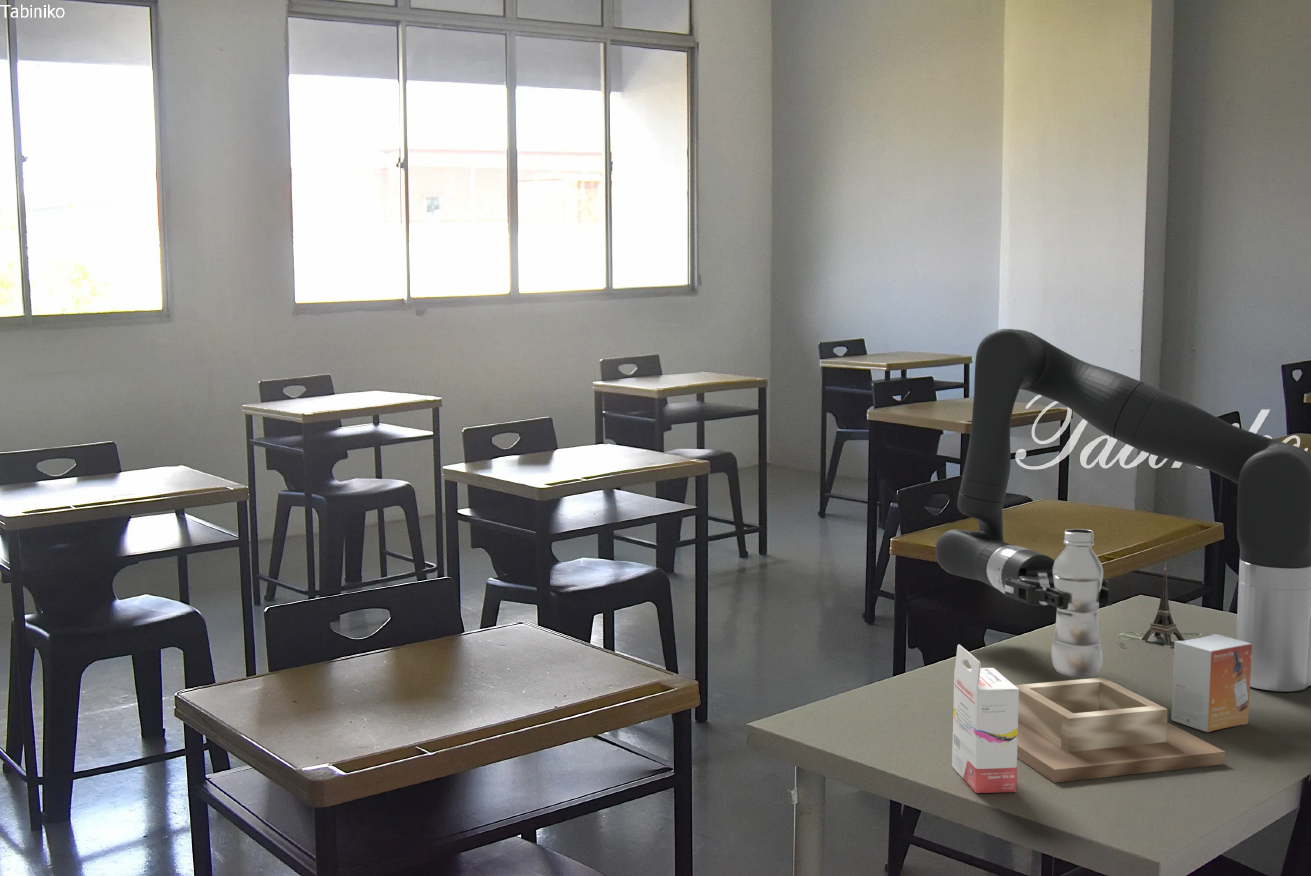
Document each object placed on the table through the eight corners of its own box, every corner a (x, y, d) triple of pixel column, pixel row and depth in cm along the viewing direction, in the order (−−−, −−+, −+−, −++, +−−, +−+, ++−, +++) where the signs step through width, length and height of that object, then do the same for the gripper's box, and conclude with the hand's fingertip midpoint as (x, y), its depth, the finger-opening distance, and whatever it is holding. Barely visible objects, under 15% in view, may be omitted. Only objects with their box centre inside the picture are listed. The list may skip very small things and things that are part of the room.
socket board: (1112, 705, 167) (1113, 664, 166) (1224, 764, 145) (1226, 717, 145) (961, 719, 161) (961, 677, 161) (1054, 782, 140) (1055, 734, 140)
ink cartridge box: (1019, 793, 137) (1022, 662, 136) (975, 794, 137) (977, 663, 135) (992, 764, 146) (994, 640, 144) (950, 766, 146) (952, 642, 144)
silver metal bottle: (1105, 683, 168) (1109, 536, 166) (1052, 681, 169) (1055, 535, 167) (1098, 669, 174) (1102, 527, 172) (1047, 667, 175) (1050, 526, 173)
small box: (1206, 734, 156) (1210, 651, 154) (1169, 720, 160) (1172, 640, 159) (1250, 723, 159) (1253, 642, 158) (1212, 711, 164) (1215, 632, 163)
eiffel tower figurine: (1201, 636, 202) (1205, 554, 201) (1223, 654, 192) (1227, 568, 190) (1105, 634, 204) (1108, 553, 202) (1122, 652, 194) (1125, 567, 192)
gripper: (978, 552, 182) (1040, 576, 166) (1067, 545, 185) (1136, 569, 169) (978, 602, 183) (1039, 631, 167) (1066, 595, 186) (1135, 623, 170)
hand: (1088, 600), depth 168 cm, fingers closed on silver metal bottle, 6 cm apart
